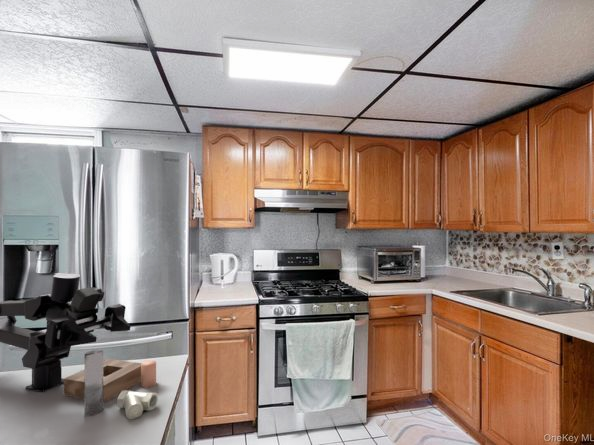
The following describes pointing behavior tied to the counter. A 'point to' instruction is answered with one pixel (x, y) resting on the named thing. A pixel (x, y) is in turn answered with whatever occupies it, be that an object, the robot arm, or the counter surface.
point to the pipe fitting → (136, 402)
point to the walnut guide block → (106, 379)
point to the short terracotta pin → (148, 374)
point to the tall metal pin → (93, 382)
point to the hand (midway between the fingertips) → (113, 333)
